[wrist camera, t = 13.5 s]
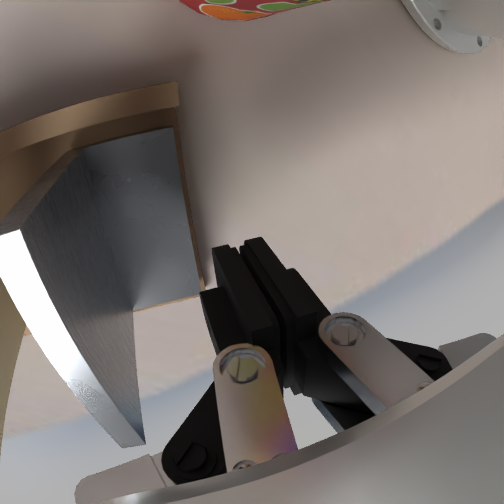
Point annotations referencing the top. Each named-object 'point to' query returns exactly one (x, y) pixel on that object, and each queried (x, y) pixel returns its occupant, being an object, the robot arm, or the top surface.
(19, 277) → the bookend
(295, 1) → the smoothie
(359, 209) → the top surface
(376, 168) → the top surface
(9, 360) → the tan book
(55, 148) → the shelf
